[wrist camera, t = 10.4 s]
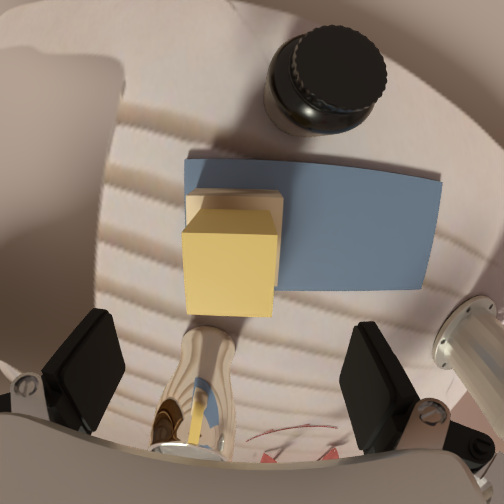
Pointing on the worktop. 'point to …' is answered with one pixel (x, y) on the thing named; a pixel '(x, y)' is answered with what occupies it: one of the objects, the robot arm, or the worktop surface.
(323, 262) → the board
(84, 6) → the worktop surface
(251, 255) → the mustard block
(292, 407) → the worktop surface
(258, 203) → the beech base block
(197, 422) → the beer glass
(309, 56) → the supplement bottle
